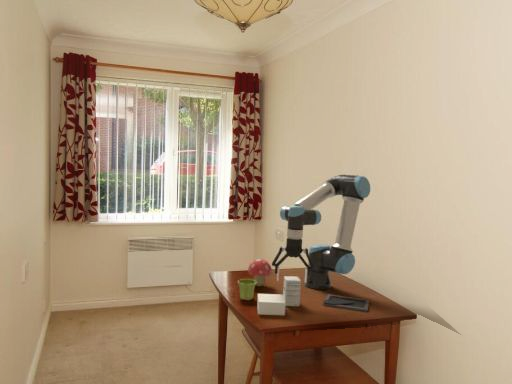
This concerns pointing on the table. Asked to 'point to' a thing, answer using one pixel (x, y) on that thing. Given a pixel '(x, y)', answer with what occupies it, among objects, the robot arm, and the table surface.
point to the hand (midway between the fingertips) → (291, 281)
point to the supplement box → (291, 291)
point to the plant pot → (246, 288)
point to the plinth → (271, 304)
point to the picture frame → (346, 303)
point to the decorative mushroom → (260, 271)
